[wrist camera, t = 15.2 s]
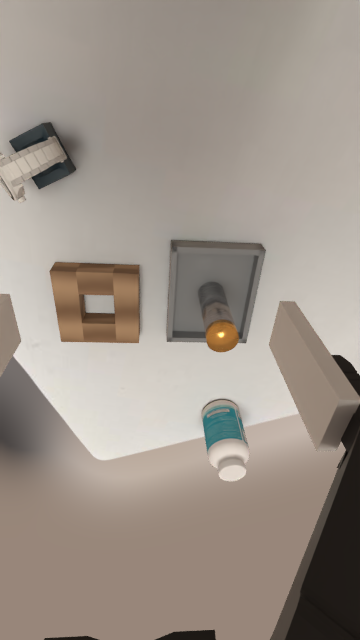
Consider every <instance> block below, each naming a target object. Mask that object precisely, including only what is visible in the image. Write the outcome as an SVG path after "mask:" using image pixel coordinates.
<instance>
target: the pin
mask: <svg viewBox="0 0 360 640" xmlns="http://www.w3.org/2000/svg"><path fill="white" fill-rule="evenodd" d="M198 297H199V303H200V308H201V314H202V319H203V324H204V330H205V335H206V340H207V344H208V346H209V348H210V349H212V350H214V351H216V352H226V351H229V350H231V349H233V348H234V347H235V346H236V345H237V343H238V340H239V335H238V332H237V329H236V326H235V323H234V320H233V317H232V314H231V311H230V308H229V305H228V302H227V299H226V296H225V293H224V290H223V287H222V286H221V285H220V284H219V283H217V282H207V283H205V284H203V285H202V286H201V287H200V289H199V291H198Z"/></svg>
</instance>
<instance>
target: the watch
mask: <svg viewBox="0 0 360 640" xmlns="http://www.w3.org/2000/svg"><path fill="white" fill-rule="evenodd" d="M9 142H10V143H11V145H12V147H13V148H14V150H15V151H16V153H15V154H13V155H11V156H9V157H7V158H5V157H4V155H3V154H1V153H0V184H1V185H2V187H3V188H4V189H5V191H6V192H7V193H8V194H9V196H10V197H11V198H12V199H13V200H14V201H16V200H18V201H19V203H21V202H23V201H25V200H26V199H25V197H24V196H23V195H24V194H25V192H24V188H23V185H22V182H23V181H25V180H27V179H29V178H31V177H32V179H33V180H34V182H35V184H36V185H37V187H38V188H39V189H41V188H43V187H45V186H47V185H49V184H51V183H53V182H55V181H57V180H59V179H61V178H63V177H65V176H68V175H70V174H71V173H72V172H74V171H75V170H76V169H75V167H74V165H73V163H72V161H71V159H70V158H69V156H68V154H67V152H66V150H65V148H64V147H63V145H62V143H61V141H60V139H59V137H58V135H57V134H56V132H55V130H54V128H53V126H52V124H51V123H50V122H49V123H43V124H41V125H39V126H37V127H35V128H33V129H31V130H29V131H27V132H25V133H23V134H21V135H19V136H18V137H16V138H14V139H12V140H10V141H9ZM17 198H18V199H17Z"/></svg>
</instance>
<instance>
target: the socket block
mask: <svg viewBox="0 0 360 640" xmlns="http://www.w3.org/2000/svg"><path fill="white" fill-rule="evenodd" d="M50 276H51V282H52V288H53V294H54V300H55V306H56V312H57V318H58V325H59V331H60V337H61V342H110V343H139V333H140V313H139V265H118V264H90V263H62V262H55V264H54V265H53V267H52V268H51V270H50ZM84 295H114V307H115V314H106V313H86V312H85V303H84Z"/></svg>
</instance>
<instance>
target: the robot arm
mask: <svg viewBox="0 0 360 640" xmlns="http://www.w3.org/2000/svg"><path fill="white" fill-rule="evenodd" d="M20 342H21V338H20V334H19V330H18V326H17V322H16V318H15V314H14V310H13V306H12V302H11V298H10V294H0V377H1V375H2V373H3V372H4V370H5V368H6V366H7V364H8V363H9V361H10V359H11V357H12V356H13V354H14V353H15V351H16V349H17V347H18V346H19V344H20ZM269 346H270V349H271V351H272V353H273V355H274V358H275V360H276V362H277V364H278V366H279V369H280V371H281V373H282V375H283V378H284V380H285V382H286V384H287V386H288V389H289V391H290V393H291V395H292V397H293V400H294V402H295V404H296V406H297V409H298V411H299V413H300V415H301V417H302V420H303V422H304V424H305V426H306V428H307V431H308V433H309V435H310V437H311V439H312V442H313V444H314V446H315V448H316V451H336V450H337V448H338V446H339V444H340V442H341V441H342V443H343V445H344V447H345V448H346V451H345V453H344V455H343V457H342V459H341V461H340V463H339V465H338V467H337V468H338V470H337V473H336V475H335V478H334V481H333V483H332V485H331V488H330V491H329V493H328V496H327V498H326V501H325V503H324V506H323V508H322V511H321V513H320V516H319V519H318V521H317V524H316V526H315V529H314V531H313V534H312V536H311V539H310V541H309V544H308V547H307V549H306V552H305V554H304V557H303V559H302V562H301V564H300V567H299V569H298V572H297V575H296V577H295V579H294V582H293V584H292V587H291V590H290V592H289V595H288V597H287V600H286V602H285V605H284V608H283V610H282V613H281V615H280V618H279V620H278V622H277V625H276V628H275V630H274V632H273V635H272V637H271V639H270V640H360V375H359V374H357V371H356V370H355V368H354V367H353V366H352V364H351V363H350V362H349V361H347V360H346V359H345V358H343V357H342V356H341V355H331V354H330V353H329V351H328V350H327V348H326V347H325V345H324V344H323V342H322V341H321V339H320V338H319V337H318V335H317V334H316V332H315V331H314V329H313V328H312V326H311V325H310V323H309V322H308V320H307V319H306V317H305V316H304V314H303V313H302V311H301V310H300V309H299V307H298V306H297V304H296V303H295V302H289V301H280V303H279V307H278V311H277V315H276V319H275V323H274V327H273V331H272V335H271V339H270V342H269ZM44 640H98V639H95V638H92V637H88V636H82V637H81V636H80V637H60V638H45V639H44ZM156 640H216V639H215V630H205V631H204V630H203V631H183V632H173V633H171V634H168V635H165V636H163V637H161V638H158V639H156Z"/></svg>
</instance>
